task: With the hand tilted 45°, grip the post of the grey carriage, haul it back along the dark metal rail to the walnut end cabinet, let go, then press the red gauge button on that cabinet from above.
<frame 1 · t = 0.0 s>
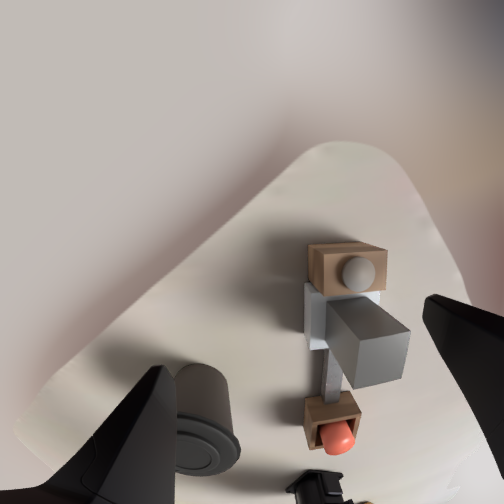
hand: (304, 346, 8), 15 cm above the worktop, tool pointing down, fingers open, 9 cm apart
carriage: (354, 328, 19), point 5 cm above the worktop, slide at 0.0 cm
gauge button: (335, 433, 22), point 4 cm above the worktop, slide at 0.0 cm
coffee cup: (201, 384, 26), on the worktop
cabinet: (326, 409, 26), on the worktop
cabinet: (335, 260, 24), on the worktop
handrail: (332, 343, 25), on the worktop
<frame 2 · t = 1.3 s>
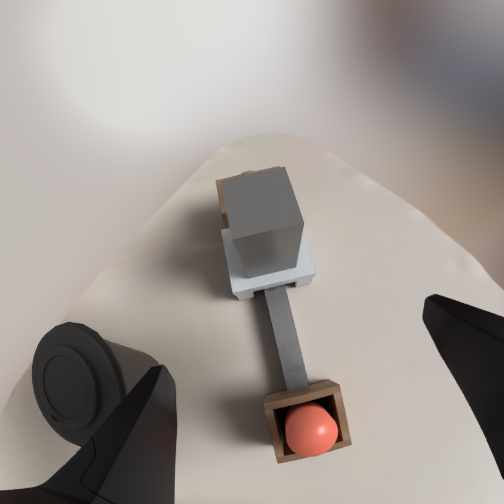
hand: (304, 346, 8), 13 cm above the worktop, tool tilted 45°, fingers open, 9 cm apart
carriage: (265, 239, 18), point 5 cm above the worktop, slide at 0.0 cm
gauge button: (308, 426, 15), point 4 cm above the worktop, slide at 0.0 cm
coffee cup: (139, 381, 21), on the worktop
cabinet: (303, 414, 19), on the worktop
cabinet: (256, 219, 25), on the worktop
handrail: (278, 308, 22), on the worktop
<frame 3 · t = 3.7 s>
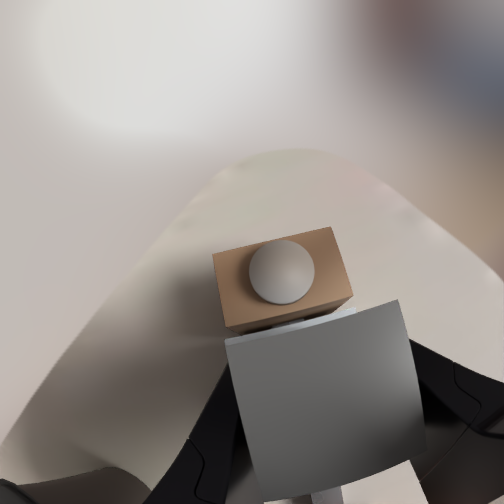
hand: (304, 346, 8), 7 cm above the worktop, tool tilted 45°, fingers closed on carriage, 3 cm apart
carriage: (309, 383, 9), point 5 cm above the worktop, slide at 0.0 cm, touching gripper
coffee cup: (126, 497, 11), on the worktop
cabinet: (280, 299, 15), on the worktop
handrail: (312, 436, 12), on the worktop
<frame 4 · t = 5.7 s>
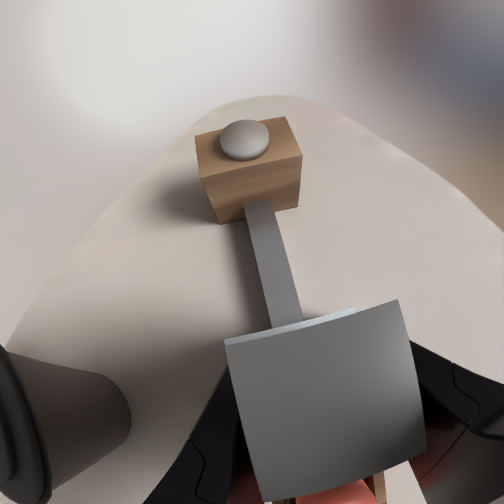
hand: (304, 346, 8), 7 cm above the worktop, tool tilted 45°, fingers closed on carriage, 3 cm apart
carriage: (308, 383, 9), point 5 cm above the worktop, slide at 6.9 cm, touching gripper
gauge button: (329, 493, 8), point 4 cm above the worktop, slide at 0.0 cm
coffee cup: (99, 410, 14), on the worktop
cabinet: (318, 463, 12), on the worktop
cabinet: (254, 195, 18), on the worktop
handrail: (285, 320, 15), on the worktop
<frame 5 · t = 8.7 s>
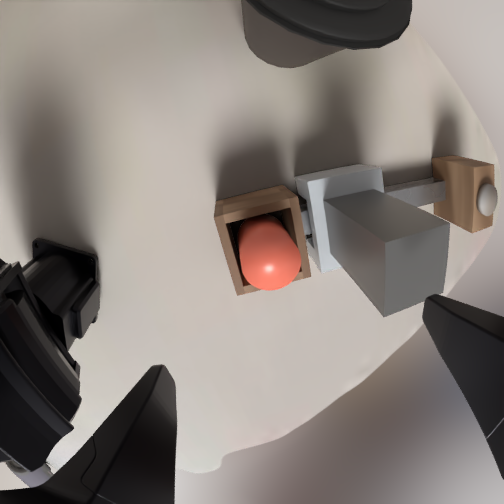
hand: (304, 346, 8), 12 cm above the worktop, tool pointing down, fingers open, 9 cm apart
carriage: (367, 231, 15), point 5 cm above the worktop, slide at 7.0 cm
gauge button: (266, 248, 16), point 4 cm above the worktop, slide at 0.0 cm
bluetooth speaker: (40, 460, 37), on the worktop
coffee cup: (283, 35, 14), on the worktop
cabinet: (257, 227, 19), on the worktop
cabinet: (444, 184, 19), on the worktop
handrail: (371, 199, 19), on the worktop
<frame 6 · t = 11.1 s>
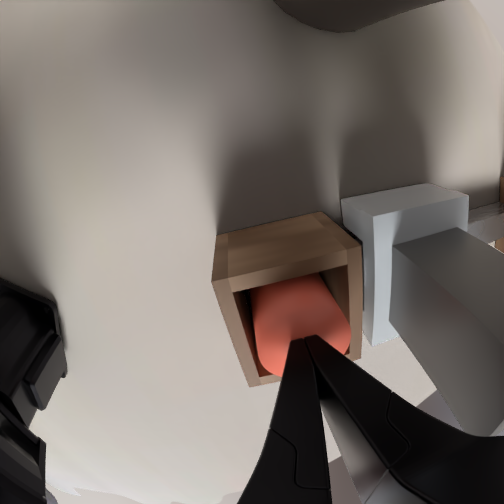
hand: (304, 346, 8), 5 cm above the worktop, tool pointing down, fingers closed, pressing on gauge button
carriage: (453, 299, 8), point 5 cm above the worktop, slide at 7.0 cm
gauge button: (293, 310, 10), point 3 cm above the worktop, slide at 1.1 cm, touching gripper
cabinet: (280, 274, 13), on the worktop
handrail: (435, 232, 13), on the worktop
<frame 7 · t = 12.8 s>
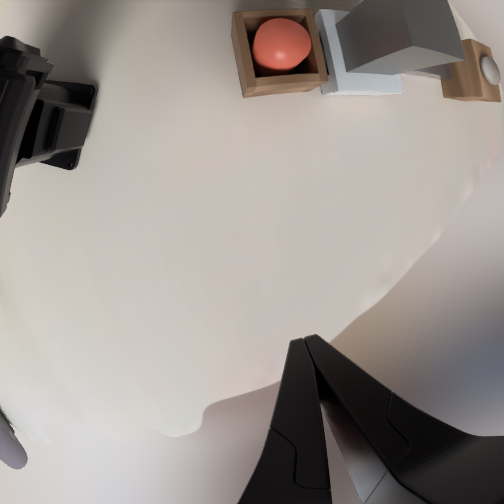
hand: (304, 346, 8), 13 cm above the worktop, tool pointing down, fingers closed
carriage: (380, 41, 11), point 5 cm above the worktop, slide at 7.0 cm
gauge button: (277, 50, 13), point 3 cm above the worktop, slide at 1.3 cm
bluetooth speaker: (4, 419, 32), on the worktop
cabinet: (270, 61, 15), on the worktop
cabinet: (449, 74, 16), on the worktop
handrail: (381, 61, 16), on the worktop
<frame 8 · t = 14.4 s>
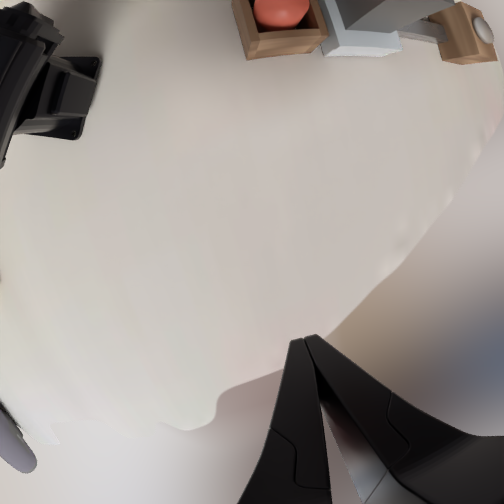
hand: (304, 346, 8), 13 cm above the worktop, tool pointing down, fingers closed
carriage: (374, 0, 10), point 5 cm above the worktop, slide at 7.0 cm
gauge button: (277, 12, 12), point 3 cm above the worktop, slide at 1.3 cm
bluetooth speaker: (11, 422, 33), on the worktop
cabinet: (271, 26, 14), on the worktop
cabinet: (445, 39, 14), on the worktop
handrail: (378, 26, 14), on the worktop
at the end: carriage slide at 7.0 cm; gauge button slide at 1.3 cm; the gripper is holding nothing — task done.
